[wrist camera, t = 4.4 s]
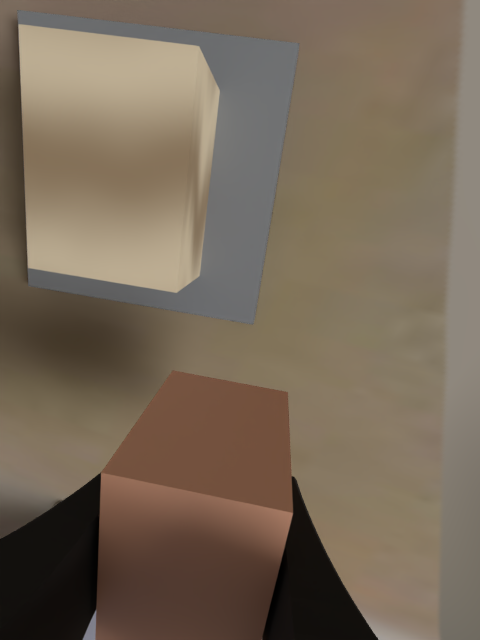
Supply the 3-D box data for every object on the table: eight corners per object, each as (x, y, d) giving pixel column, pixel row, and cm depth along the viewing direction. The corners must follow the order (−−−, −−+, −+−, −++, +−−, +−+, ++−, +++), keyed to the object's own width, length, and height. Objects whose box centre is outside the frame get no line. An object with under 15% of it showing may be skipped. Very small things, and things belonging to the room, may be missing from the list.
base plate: (254, 318, 18) (253, 324, 17) (40, 282, 19) (28, 285, 18) (297, 54, 15) (299, 43, 14) (33, 22, 16) (17, 10, 15)
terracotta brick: (258, 528, 13) (246, 698, 9) (159, 506, 14) (94, 661, 9) (287, 392, 12) (293, 512, 7) (172, 370, 12) (101, 472, 7)
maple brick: (199, 275, 17) (176, 292, 13) (83, 257, 17) (27, 268, 14) (219, 90, 15) (199, 45, 11) (84, 73, 15) (18, 24, 11)
